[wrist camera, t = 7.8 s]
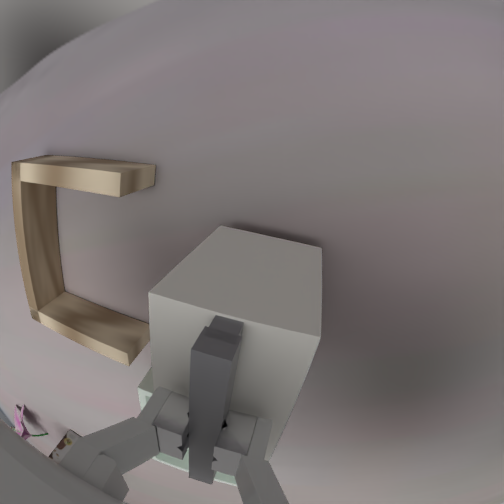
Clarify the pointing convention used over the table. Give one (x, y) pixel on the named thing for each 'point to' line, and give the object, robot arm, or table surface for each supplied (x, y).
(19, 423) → the lily
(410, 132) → the table surface
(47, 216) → the bay
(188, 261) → the white block
